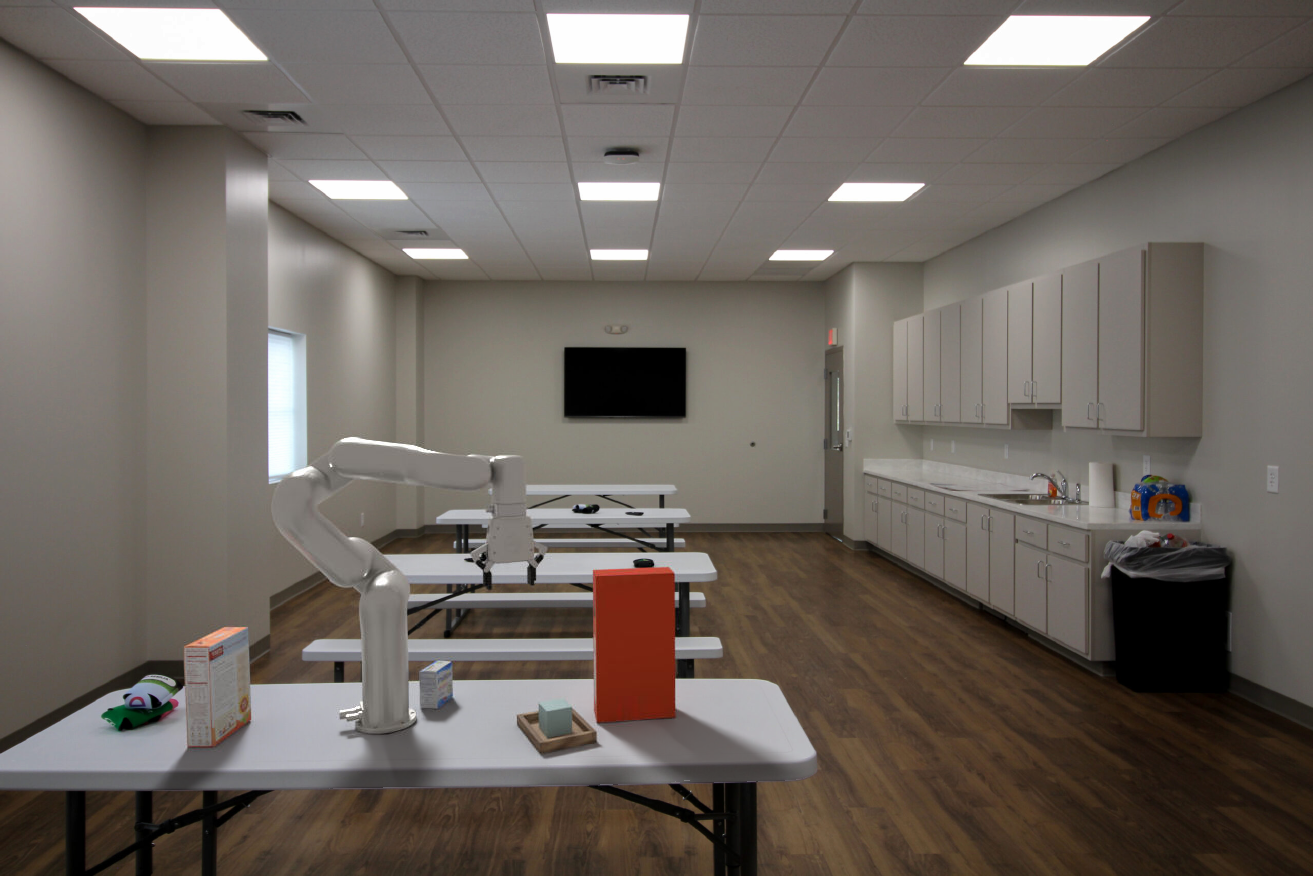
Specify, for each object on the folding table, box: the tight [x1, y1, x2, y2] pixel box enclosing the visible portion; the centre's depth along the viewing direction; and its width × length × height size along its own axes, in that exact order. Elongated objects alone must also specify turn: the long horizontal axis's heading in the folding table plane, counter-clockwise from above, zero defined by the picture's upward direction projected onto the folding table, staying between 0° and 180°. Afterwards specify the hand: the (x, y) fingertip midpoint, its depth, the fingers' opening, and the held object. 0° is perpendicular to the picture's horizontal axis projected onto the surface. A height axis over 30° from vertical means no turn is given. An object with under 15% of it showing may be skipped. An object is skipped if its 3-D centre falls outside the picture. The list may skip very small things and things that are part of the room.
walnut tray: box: [516, 707, 598, 755], centre depth 161 cm, size 12×16×2 cm
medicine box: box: [418, 660, 454, 710], centre depth 178 cm, size 8×4×9 cm, turn 168°
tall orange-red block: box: [592, 566, 676, 724], centre depth 171 cm, size 8×17×32 cm, turn 100°
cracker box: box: [182, 626, 252, 748], centre depth 161 cm, size 14×6×21 cm, turn 178°
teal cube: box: [538, 697, 573, 738], centre depth 161 cm, size 6×6×6 cm
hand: (509, 586), depth 172 cm, fingers open, 9 cm apart
